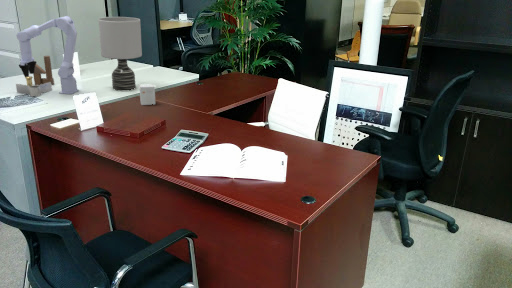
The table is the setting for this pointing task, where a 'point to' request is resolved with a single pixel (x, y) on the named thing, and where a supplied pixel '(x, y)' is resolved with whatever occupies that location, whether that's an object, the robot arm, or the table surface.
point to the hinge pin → (29, 80)
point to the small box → (147, 94)
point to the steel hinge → (34, 89)
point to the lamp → (121, 47)
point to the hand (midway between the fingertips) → (29, 75)
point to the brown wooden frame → (43, 72)
